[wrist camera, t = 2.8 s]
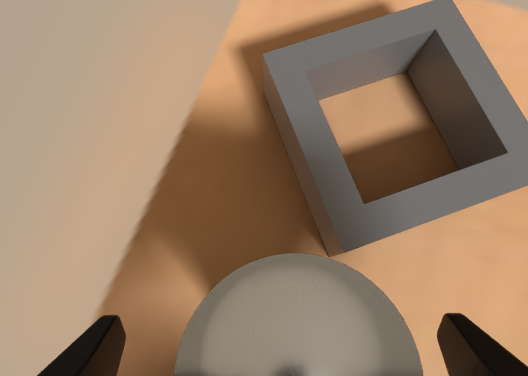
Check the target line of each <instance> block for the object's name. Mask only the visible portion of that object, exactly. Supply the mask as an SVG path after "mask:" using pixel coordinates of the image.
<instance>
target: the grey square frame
mask: <svg viewBox="0 0 528 376" xmlns="http://www.w3.org/2000/svg"><path fill="white" fill-rule="evenodd" d="M406 71H407V73H408V74H409V76H410V78H411V80H412V82H413V84H414V86H415V88H416V89H417V91H418V93H419V95H420V97H421V99H422V101H423V102H424V104H425V106H426V108H427V110H428V112H429V114H430V115H431V117H432V119H433V121H434V123H435V125H436V127H437V128H438V130H439V132H440V134H441V136H442V138H443V140H444V142H445V143H446V145H447V147H448V149H449V151H450V153H451V155H452V156H453V158H454V160H455V162H456V164H457V166H458V168H459V169H460V170H459V171H456V172H453V173H451V174H448V175H445V176H442V177H439V178H437V179H434V180H431V181H428V182H425V183H423V184H420V185H417V186H414V187H411V188H409V189H406V190H403V191H400V192H397V193H395V194H392V195H389V196H386V197H383V198H381V199H378V200H375V201H372V202H369V203H367V204H364V203H363V201H362V198H361V196H360V194H359V192H358V189H357V187H356V185H355V183H354V180H353V178H352V176H351V174H350V171H349V169H348V167H347V165H346V162H345V160H344V158H343V156H342V153H341V151H340V149H339V147H338V144H337V142H336V140H335V138H334V135H333V133H332V131H331V129H330V126H329V124H328V122H327V119H326V117H325V115H324V113H323V110H322V108H321V106H320V104H319V101H318V100H321V99H324V98H327V97H330V96H333V95H336V94H339V93H342V92H345V91H348V90H351V89H354V88H357V87H360V86H363V85H366V84H369V83H372V82H376V81H379V80H382V79H385V78H388V77H391V76H394V75H397V74H400V73H403V72H406ZM263 92H264V95H265V97H266V100H267V102H268V105H269V107H270V110H271V112H272V115H273V117H274V120H275V122H276V125H277V127H278V130H279V132H280V135H281V138H282V140H283V143H284V145H285V148H286V150H287V153H288V155H289V158H290V160H291V163H292V165H293V168H294V170H295V173H296V175H297V178H298V180H299V183H300V185H301V188H302V190H303V193H304V195H305V198H306V200H307V203H308V205H309V208H310V211H311V213H312V216H313V218H314V221H315V223H316V226H317V228H318V231H319V233H320V236H321V238H322V241H323V243H324V246H325V248H326V251H327V253H328V256H329V257H331V256H335V255H338V254H342V253H345V252H348V251H350V250H353V249H356V248H359V247H361V246H364V245H367V244H369V243H372V242H375V241H378V240H380V239H383V238H386V237H388V236H391V235H394V234H397V233H399V232H402V231H405V230H408V229H410V228H413V227H416V226H418V225H421V224H424V223H427V222H429V221H432V220H435V219H437V218H440V217H443V216H446V215H448V214H451V213H454V212H456V211H459V210H462V209H465V208H467V207H470V206H473V205H476V204H478V203H481V202H484V201H486V200H489V199H492V198H495V197H497V196H500V195H503V194H505V193H508V192H511V191H514V190H516V189H519V188H522V187H525V186H527V185H528V122H527V120H526V118H525V117H524V115H523V113H522V112H521V110H520V109H519V107H518V105H517V104H516V102H515V101H514V99H513V97H512V96H511V94H510V92H509V91H508V89H507V88H506V86H505V84H504V83H503V81H502V80H501V78H500V76H499V75H498V73H497V71H496V70H495V68H494V67H493V65H492V63H491V62H490V60H489V59H488V57H487V55H486V54H485V52H484V50H483V49H482V47H481V46H480V44H479V42H478V41H477V39H476V38H475V36H474V34H473V33H472V31H471V30H470V28H469V26H468V25H467V23H466V21H465V20H464V18H463V17H462V15H461V13H460V12H459V10H458V9H457V7H456V5H455V4H454V2H453V0H433V1H430V2H427V3H424V4H420V5H417V6H414V7H411V8H407V9H404V10H401V11H398V12H395V13H391V14H388V15H385V16H382V17H379V18H375V19H372V20H369V21H366V22H362V23H359V24H356V25H353V26H350V27H346V28H343V29H340V30H337V31H334V32H330V33H327V34H324V35H321V36H317V37H314V38H311V39H308V40H305V41H301V42H298V43H295V44H292V45H288V46H285V47H282V48H279V49H276V50H272V51H269V52H266V53H263Z"/></svg>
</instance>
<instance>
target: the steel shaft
mask: <svg viewBox="0 0 528 376" xmlns="http://www.w3.org/2000/svg"><path fill="white" fill-rule="evenodd" d="M174 376H423V370H422V366H421V361H420V357H419V353H418V350H417V348H416V345H415V342H414V339H413V337H412V334H411V332H410V330H409V328H408V326H407V325H406V323H405V321H404V319H403V317H402V316H401V314H400V313H399V311H398V310H397V308H396V307H395V305H394V304H393V303H392V302H391V301H390V299H389V298H388V297H387V296H386V295H385V293H384V292H383V291H382V290H380V289H379V288H378V287H377V286H376V285H375V284H374V283H373V282H372V281H371V280H369V279H368V278H366V277H365V276H364V275H362V274H361V273H360V272H358V271H356V270H354V269H353V268H351V267H349V266H347V265H345V264H343V263H340V262H338V261H335V260H333V259H330V258H326V257H322V256H318V255H313V254H304V253H285V254H278V255H272V256H268V257H265V258H261V259H258V260H255V261H253V262H251V263H248V264H246V265H244V266H242V267H240V268H239V269H237V270H235V271H234V272H232V273H231V274H229V275H228V276H227V277H225V278H224V279H223V280H222V281H220V282H219V283H218V284H217V285H216V286H215V287H214V288H213V289H212V290H211V291H210V292H209V293H208V294H207V295H206V297H205V298H204V299H203V301H202V302H201V303H200V305H199V306H198V307H197V309H196V311H195V312H194V314H193V316H192V318H191V319H190V321H189V323H188V325H187V328H186V330H185V332H184V335H183V337H182V340H181V343H180V347H179V350H178V353H177V358H176V364H175V370H174Z"/></svg>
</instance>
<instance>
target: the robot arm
mask: <svg viewBox="0 0 528 376" xmlns="http://www.w3.org/2000/svg"><path fill="white" fill-rule="evenodd" d="M437 339H438V343H439V346H440V349H441V352H442V355H443V358H444V361H445V364H446V368H447V371H448V374H449V376H528V366H526V365H525V364H524V363H523V362H521V361H520V360H519V359H518V358H516V357H515V356H514V355H513V354H511V353H510V352H509V351H508V350H506V349H505V348H504V347H503V346H502V345H500V344H499V343H498V342H497V341H495V340H494V339H493V338H492V337H490V336H489V335H488V334H487V333H485V332H484V331H483V330H482V329H480V328H479V327H478V326H477V325H475V324H474V323H473V322H472V321H471V320H469V319H468V318H467V317H466V316H464V315H463V314H460V313H446V314H445V315H444V316H443V318H442V321H441V323H440V326H439V329H438V332H437ZM125 340H126V335H125V331H124V328H123V325H122V322H121V320H120V317H119V316H118V315H104V316H102V317H100V318H99V319H98V320H97V321H96V322H95V323H94V324H93V325H92V326H91V327H89V328H88V329H87V330H86V331H85V332H84V333H83V334H82V335H81V336H80V337H79V338H77V339H76V340H75V341H74V342H73V343H72V344H71V345H70V346H69V347H68V348H67V349H65V350H64V351H63V352H62V353H61V354H60V355H59V356H58V357H57V358H56V359H55V360H54V361H52V362H51V364H49V365H48V366H47V367H46V368H45V369H44V370H43V371H41V373H39V374H38V375H37V376H117V372H118V368H119V364H120V360H121V356H122V353H123V349H124V345H125Z"/></svg>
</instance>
